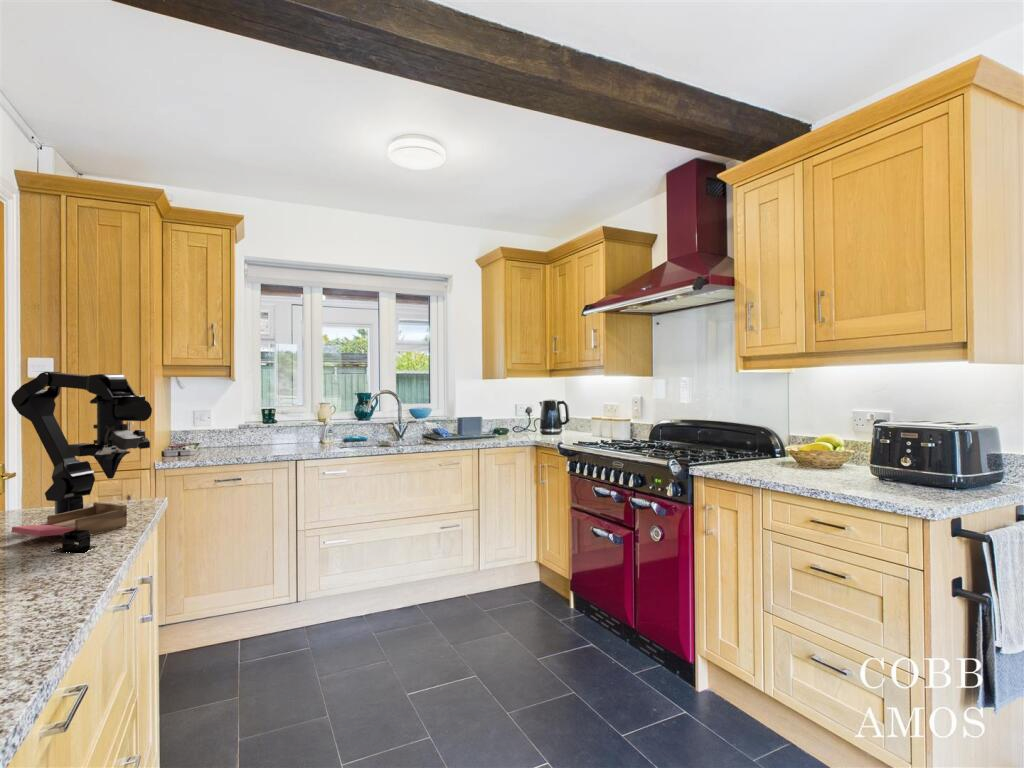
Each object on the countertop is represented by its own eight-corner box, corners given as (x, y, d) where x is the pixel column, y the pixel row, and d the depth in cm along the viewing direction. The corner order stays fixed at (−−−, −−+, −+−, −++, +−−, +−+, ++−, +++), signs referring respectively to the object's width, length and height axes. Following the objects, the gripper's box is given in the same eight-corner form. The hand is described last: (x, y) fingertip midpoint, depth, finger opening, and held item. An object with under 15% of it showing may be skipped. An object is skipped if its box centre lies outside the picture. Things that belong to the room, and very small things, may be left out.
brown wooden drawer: (47, 534, 136) (47, 512, 136) (97, 522, 147) (97, 501, 147) (78, 538, 133) (78, 516, 133) (126, 525, 144) (126, 505, 144)
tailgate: (75, 528, 132) (40, 530, 125) (73, 536, 132) (39, 539, 125) (47, 524, 136) (12, 526, 129) (45, 532, 135) (10, 535, 128)
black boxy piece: (36, 556, 122) (36, 535, 121) (65, 545, 129) (65, 526, 129) (89, 557, 121) (89, 537, 121) (115, 547, 128) (115, 528, 128)
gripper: (95, 424, 135) (95, 487, 135) (164, 419, 153) (164, 474, 153) (64, 422, 139) (64, 484, 139) (135, 417, 156) (135, 472, 157)
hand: (110, 478), depth 147 cm, fingers closed
